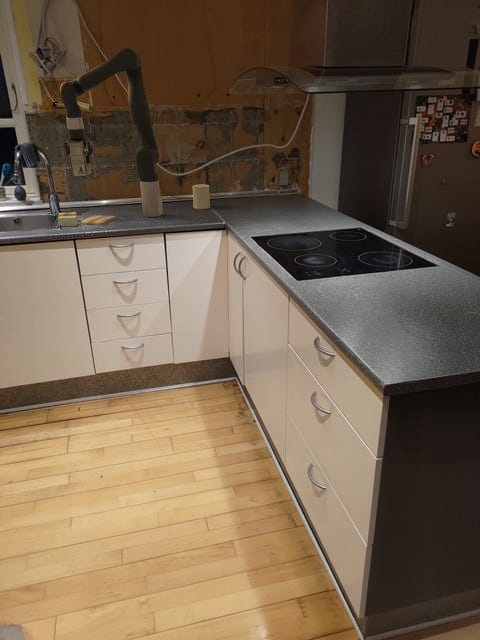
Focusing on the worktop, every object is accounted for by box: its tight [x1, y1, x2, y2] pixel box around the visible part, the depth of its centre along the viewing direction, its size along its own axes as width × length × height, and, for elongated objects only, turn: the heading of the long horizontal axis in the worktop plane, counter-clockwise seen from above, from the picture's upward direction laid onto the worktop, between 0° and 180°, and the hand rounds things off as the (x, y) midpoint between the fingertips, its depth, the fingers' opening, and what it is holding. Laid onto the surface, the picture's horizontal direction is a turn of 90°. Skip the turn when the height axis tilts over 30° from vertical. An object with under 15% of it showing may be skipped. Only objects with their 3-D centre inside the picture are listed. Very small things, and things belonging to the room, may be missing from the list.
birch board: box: [79, 215, 117, 226], centre depth 239 cm, size 12×14×1 cm
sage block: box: [57, 216, 79, 227], centre depth 232 cm, size 8×4×4 cm, turn 92°
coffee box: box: [67, 138, 93, 177], centre depth 239 cm, size 9×6×16 cm
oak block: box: [57, 211, 79, 220], centre depth 239 cm, size 8×4×4 cm, turn 98°
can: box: [191, 183, 211, 210], centre depth 262 cm, size 9×9×12 cm
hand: (81, 163), depth 240 cm, fingers closed on coffee box, 7 cm apart
